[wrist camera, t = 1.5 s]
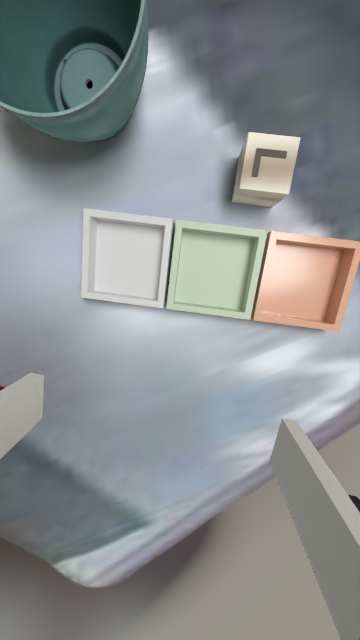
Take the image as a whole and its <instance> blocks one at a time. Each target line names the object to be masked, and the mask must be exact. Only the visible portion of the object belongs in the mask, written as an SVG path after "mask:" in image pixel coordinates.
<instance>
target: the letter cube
mask: <svg viewBox="0 0 360 640" xmlns="http://www.w3.org/2000/svg"><path fill="white" fill-rule="evenodd" d="M299 142H300V138H299V137H290V136H280V135H271V134H262V133H253V132H249V133H248V135H247V138H246V140H245V143H244V145H243V148H242V150H241V153H240V155H239V159H238V165H237V171H236V178H235V184H234V190H233V196H232V203H240V204H249V205H257V206H266V207H273V206H274V205H276V204H277V203H278V202H279V201H281V200H282V199H283V198H284V197H286V196H287V195H288V194H289V190H290V185H291V181H292V176H293V171H294V166H295V162H296V157H297V152H298V147H299Z"/></svg>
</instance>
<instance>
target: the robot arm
mask: <svg viewBox="0 0 360 640" xmlns="http://www.w3.org/2000/svg"><path fill="white" fill-rule="evenodd" d="M43 392H44V375H42V374H37V373H29V374H27V375H26V376H24V377H22V378H21V379H19V380H17V381H16V382H14V383H12V384H11V385H9V386H7V387H6V388H4V389H2V390H1V391H0V459H1V458H2V457H3V456H4V455H5V454H6V453H7V452H8V451H9V450H10V449H11V448H12V447H13V446H14V445H15V444H16V443H18V442H19V441H20V440H21V439H22V438H23V437H24V436H25V435H26V434H27V433H28V432H29V431H30V430H31V429H32V428H33V427H34V426H35V425H36V424H37V423H38V422H40V421H41V420H42V417H43ZM270 464H271V466H272V469H273V471H274V474H275V476H276V479H277V481H278V484H279V486H280V489H281V491H282V494H283V496H284V499H285V501H286V504H287V506H288V509H289V511H290V514H291V516H292V519H293V521H294V524H295V526H296V529H297V531H298V534H299V536H300V539H301V541H302V544H303V546H304V549H305V551H306V554H307V556H308V559H309V561H310V564H311V566H312V569H313V571H314V574H315V576H316V579H317V581H318V584H319V586H320V589H321V591H322V594H323V596H324V599H325V601H326V604H327V606H328V609H329V611H330V614H331V616H332V619H333V621H334V624H335V626H336V629H337V631H338V634H339V636H340V639H341V640H360V500H359V499H358V498H357V497H356V496H351V495H347V493H346V492H345V490H344V489H343V488H342V486H341V485H340V483H339V482H338V480H337V479H336V477H335V476H334V475H333V473H332V472H331V470H330V469H329V467H328V466H327V464H326V463H325V462H324V460H323V459H322V457H321V456H320V454H319V453H318V451H317V450H316V449H315V447H314V446H313V444H312V443H311V441H310V440H309V438H308V437H307V436H306V434H305V433H304V431H303V430H302V428H301V427H300V425H299V424H298V423H297V421H293V420H288V419H282V421H281V424H280V428H279V431H278V434H277V438H276V441H275V445H274V448H273V452H272V455H271V458H270Z"/></svg>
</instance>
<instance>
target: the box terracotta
mask: <svg viewBox="0 0 360 640" xmlns="http://www.w3.org/2000/svg"><path fill="white" fill-rule="evenodd" d="M359 261H360V242H358V241H350V240H342V239H333V238H325V237H317V236H309V235H300V234H292V233H284V232H276V231H270V232H268V233H267V237H266V242H265V247H264V252H263V257H262V262H261V267H260V272H259V277H258V282H257V288H256V293H255V298H254V303H253V308H252V313H251V319H252V320H254V321H262V322H269V323H277V324H284V325H292V326H300V327H307V328H315V329H322V330H330V331H337V332H339V330H340V327H341V323H342V320H343V316H344V313H345V309H346V306H347V302H348V299H349V296H350V292H351V289H352V285H353V282H354V278H355V275H356V271H357V268H358V264H359Z"/></svg>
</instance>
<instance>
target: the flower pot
mask: <svg viewBox="0 0 360 640" xmlns="http://www.w3.org/2000/svg"><path fill="white" fill-rule="evenodd" d="M147 54H148V11H147V0H0V107H2V108H3V109H5V110H7V111H9V112H10V113H12V114H13V115H14V116H16V117H17V118H19V119H20V120H22V121H23V122H25V123H26V124H28V125H30V126H31V127H33V128H35V129H37V130H39V131H41V132H43V133H45V134H48V135H50V136H53V137H55V138H59V139H62V140H67V141H73V142H89V141H101V140H105V139H108V138H110V137H112V136H114V135H115V134H117V133H118V132H119V131H120V130H121V129H122V128H123V127H124V126H125V124H126V123H127V121H128V119H129V117H130V115H131V112H132V110H133V109H134V107H135V105H136V103H137V100H138V97H139V95H140V92H141V88H142V85H143V81H144V76H145V70H146V63H147ZM65 61H66V62H65ZM89 81H91V82H92V83H93V86H92V88H90V89H89V88H88V87H87V83H88V82H89Z"/></svg>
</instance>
